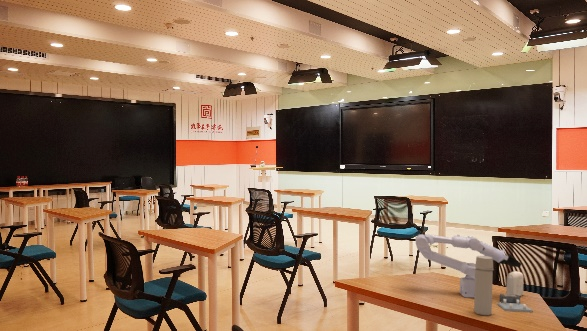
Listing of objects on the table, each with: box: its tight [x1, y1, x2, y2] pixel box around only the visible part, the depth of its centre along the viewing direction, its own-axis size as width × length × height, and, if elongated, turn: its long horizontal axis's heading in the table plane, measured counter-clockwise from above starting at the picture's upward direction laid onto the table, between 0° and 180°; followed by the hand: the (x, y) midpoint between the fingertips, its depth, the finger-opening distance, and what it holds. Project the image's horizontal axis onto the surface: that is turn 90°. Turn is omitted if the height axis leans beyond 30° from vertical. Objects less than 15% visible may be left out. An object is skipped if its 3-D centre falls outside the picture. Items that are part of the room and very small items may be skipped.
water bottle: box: [473, 255, 495, 317], centre depth 196 cm, size 9×8×25 cm
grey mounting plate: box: [496, 299, 533, 313], centre depth 203 cm, size 12×9×3 cm
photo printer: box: [505, 270, 525, 297], centre depth 224 cm, size 10×4×12 cm, turn 123°
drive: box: [499, 293, 521, 304], centre depth 211 cm, size 8×4×4 cm, turn 86°
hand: (517, 265), depth 217 cm, fingers open, 7 cm apart
